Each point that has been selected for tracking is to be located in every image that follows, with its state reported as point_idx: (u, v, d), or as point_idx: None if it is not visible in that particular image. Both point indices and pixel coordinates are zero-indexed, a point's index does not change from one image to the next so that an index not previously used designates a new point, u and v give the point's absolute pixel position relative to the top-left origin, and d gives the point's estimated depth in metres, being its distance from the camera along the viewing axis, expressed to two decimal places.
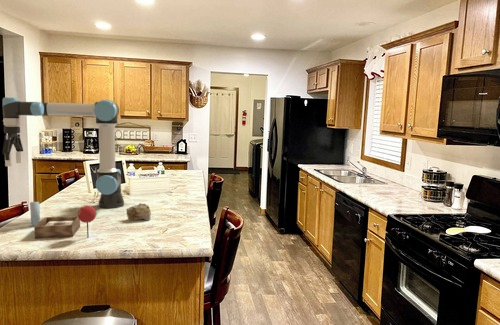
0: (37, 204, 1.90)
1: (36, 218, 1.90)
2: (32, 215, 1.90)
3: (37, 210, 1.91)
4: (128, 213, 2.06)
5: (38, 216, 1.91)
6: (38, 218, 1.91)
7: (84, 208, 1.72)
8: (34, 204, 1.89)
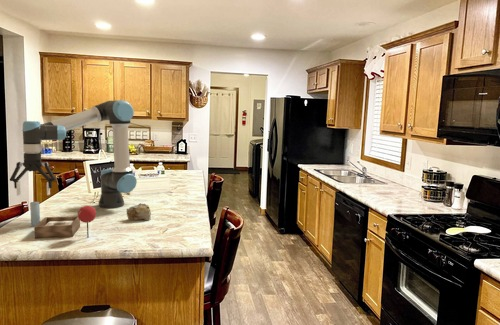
0: (37, 204, 1.90)
1: (36, 218, 1.90)
2: (32, 215, 1.90)
3: (37, 210, 1.91)
4: (128, 213, 2.06)
5: (38, 216, 1.91)
6: (38, 218, 1.91)
7: (84, 208, 1.72)
8: (34, 204, 1.89)
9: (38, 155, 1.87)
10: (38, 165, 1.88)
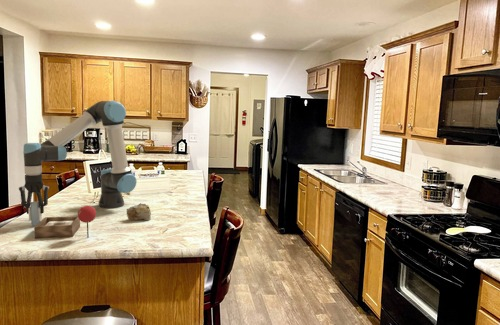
0: (37, 204, 1.90)
1: (36, 217, 1.90)
2: (32, 215, 1.90)
3: (37, 210, 1.91)
4: (128, 213, 2.05)
5: (38, 216, 1.91)
6: (38, 218, 1.91)
7: (84, 208, 1.72)
8: (34, 204, 1.89)
9: (39, 177, 1.88)
10: (39, 186, 1.90)
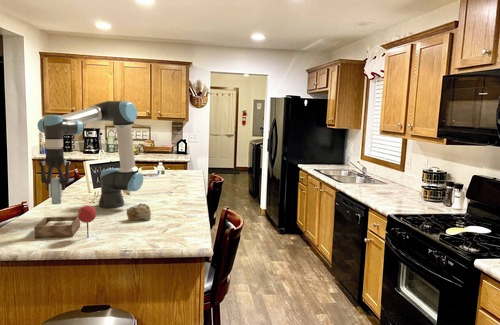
0: (58, 180, 1.79)
1: (57, 194, 1.79)
2: (53, 192, 1.79)
3: (58, 187, 1.79)
4: (128, 213, 2.05)
5: (59, 193, 1.80)
6: (59, 195, 1.80)
7: (84, 208, 1.72)
8: (55, 180, 1.78)
9: (61, 151, 1.77)
10: (60, 161, 1.78)
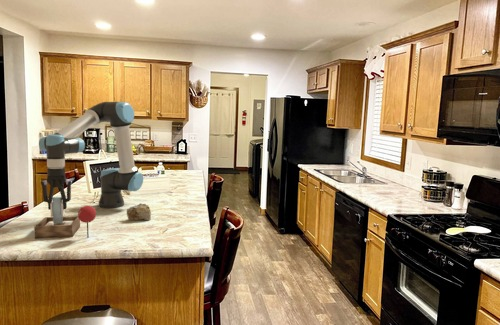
0: (60, 199, 1.80)
1: (58, 214, 1.80)
2: (54, 211, 1.79)
3: (60, 206, 1.80)
4: (128, 213, 2.05)
5: None
6: None
7: (84, 208, 1.72)
8: (57, 199, 1.79)
9: (62, 170, 1.78)
10: (62, 181, 1.79)
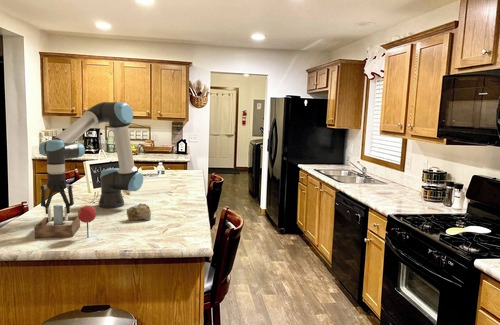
0: (61, 208, 1.81)
1: (59, 222, 1.81)
2: (55, 219, 1.80)
3: (60, 214, 1.81)
4: (128, 213, 2.05)
5: (61, 220, 1.82)
6: (61, 222, 1.82)
7: (84, 208, 1.72)
8: (58, 208, 1.80)
9: (62, 175, 1.78)
10: (62, 186, 1.80)
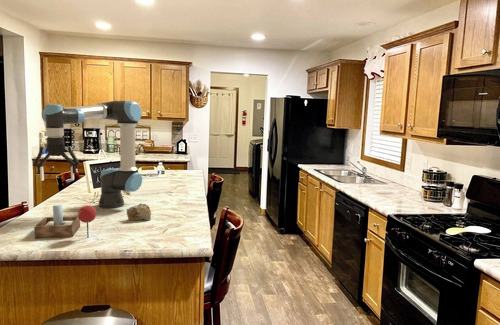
0: (60, 208, 1.81)
1: (59, 222, 1.81)
2: (55, 219, 1.80)
3: (60, 214, 1.81)
4: (128, 213, 2.05)
5: (61, 220, 1.82)
6: (61, 222, 1.82)
7: (84, 208, 1.72)
8: (57, 208, 1.80)
9: (62, 139, 1.82)
10: (62, 149, 1.83)
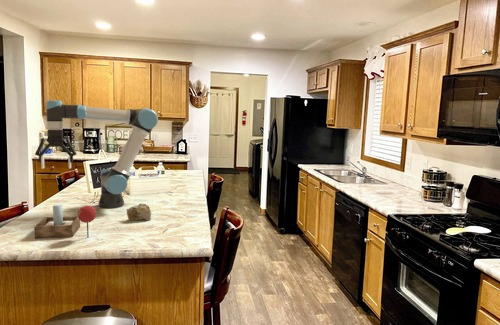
0: (60, 208, 1.81)
1: (59, 222, 1.81)
2: (55, 219, 1.80)
3: (60, 214, 1.81)
4: (128, 213, 2.05)
5: (61, 220, 1.82)
6: (61, 222, 1.82)
7: (84, 208, 1.72)
8: (57, 208, 1.80)
9: (60, 131, 2.04)
10: (60, 141, 2.06)
